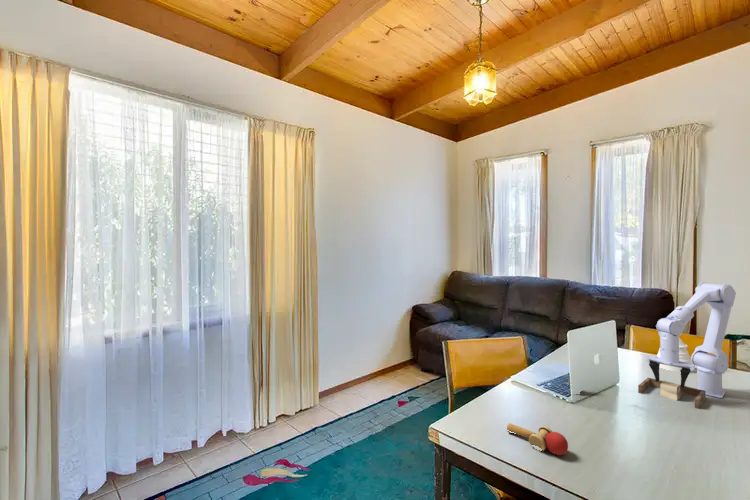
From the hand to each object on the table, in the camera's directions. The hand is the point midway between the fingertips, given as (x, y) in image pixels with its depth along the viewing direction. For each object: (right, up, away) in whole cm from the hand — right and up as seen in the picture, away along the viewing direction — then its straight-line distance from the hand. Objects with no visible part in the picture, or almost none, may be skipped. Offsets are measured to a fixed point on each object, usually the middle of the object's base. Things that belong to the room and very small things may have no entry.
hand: (669, 383), depth 136 cm
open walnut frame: (+1, -5, +1) cm, 5 cm away
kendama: (-67, -7, -30) cm, 74 cm away
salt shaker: (-35, -6, +6) cm, 36 cm away
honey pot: (+28, -5, +31) cm, 42 cm away
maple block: (0, -5, 0) cm, 5 cm away
